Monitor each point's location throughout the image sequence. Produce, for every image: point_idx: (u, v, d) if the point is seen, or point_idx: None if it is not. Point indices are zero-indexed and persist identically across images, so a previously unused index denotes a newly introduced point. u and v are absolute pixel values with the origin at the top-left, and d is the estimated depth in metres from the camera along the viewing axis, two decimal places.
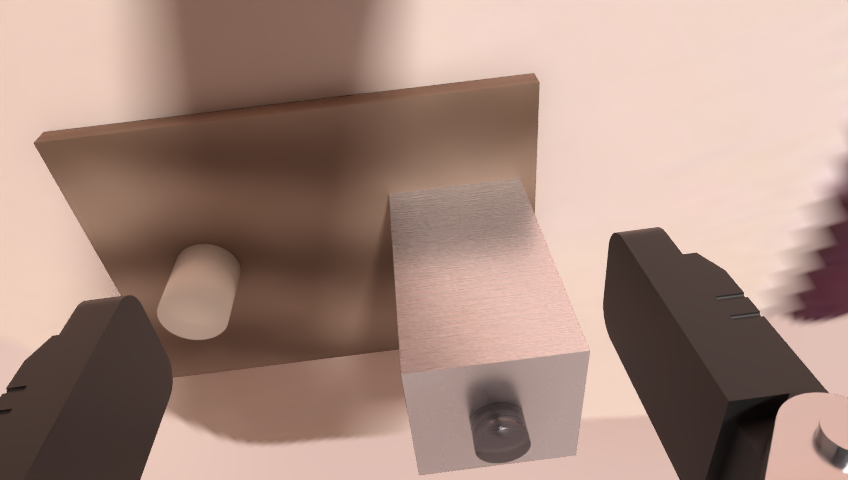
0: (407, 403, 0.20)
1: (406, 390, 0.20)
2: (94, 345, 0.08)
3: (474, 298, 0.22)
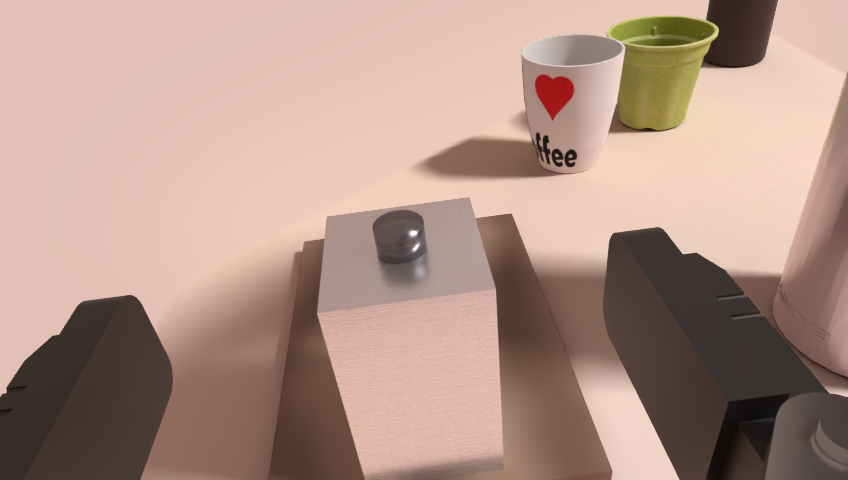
0: (433, 202, 0.26)
1: (449, 201, 0.26)
2: (94, 345, 0.08)
3: None
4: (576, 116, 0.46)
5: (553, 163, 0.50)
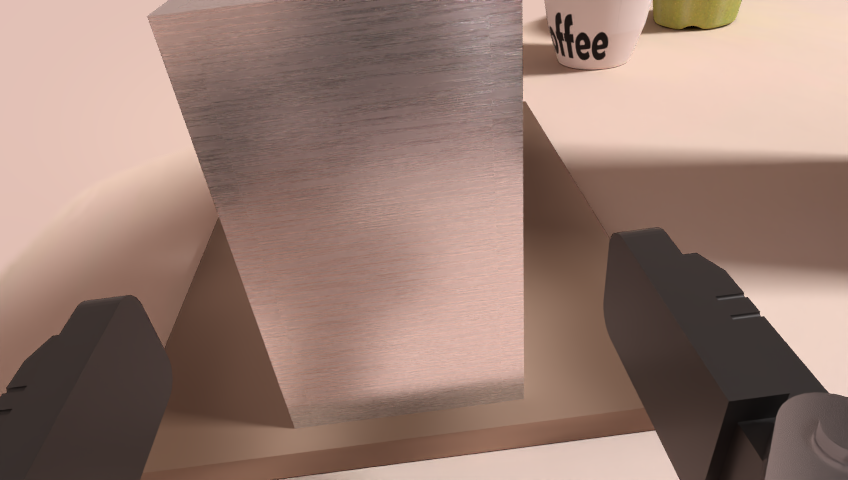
0: None
1: None
2: (94, 345, 0.08)
3: None
4: None
5: (577, 55, 0.39)
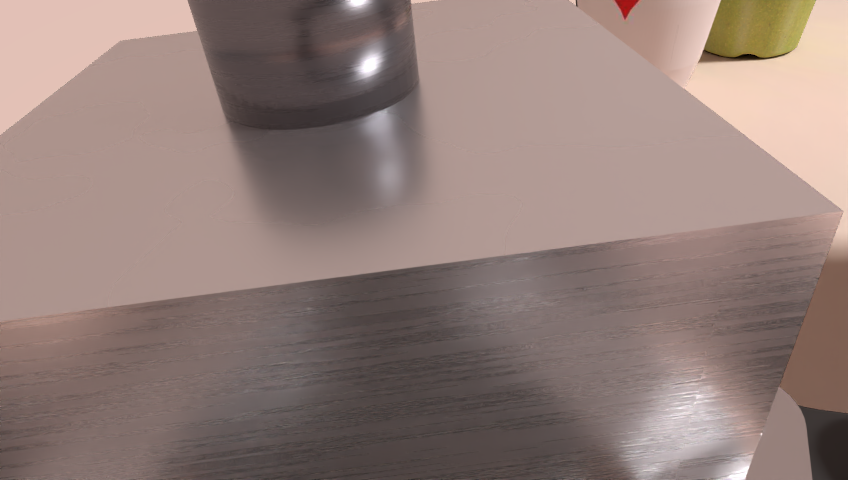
0: (442, 0, 0.09)
1: None
2: None
3: None
4: (665, 9, 0.29)
5: None
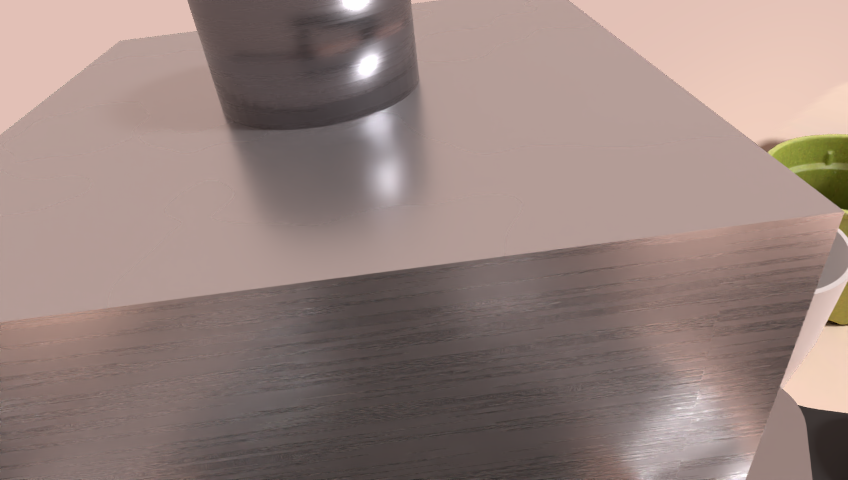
0: (442, 0, 0.09)
1: None
2: None
3: None
4: None
5: None
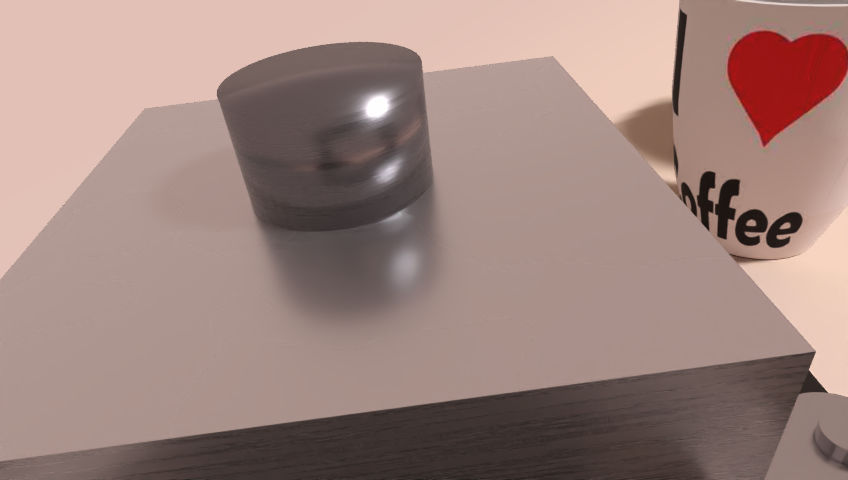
0: (450, 70, 0.09)
1: (497, 65, 0.09)
2: None
3: None
4: (833, 136, 0.18)
5: (735, 238, 0.23)
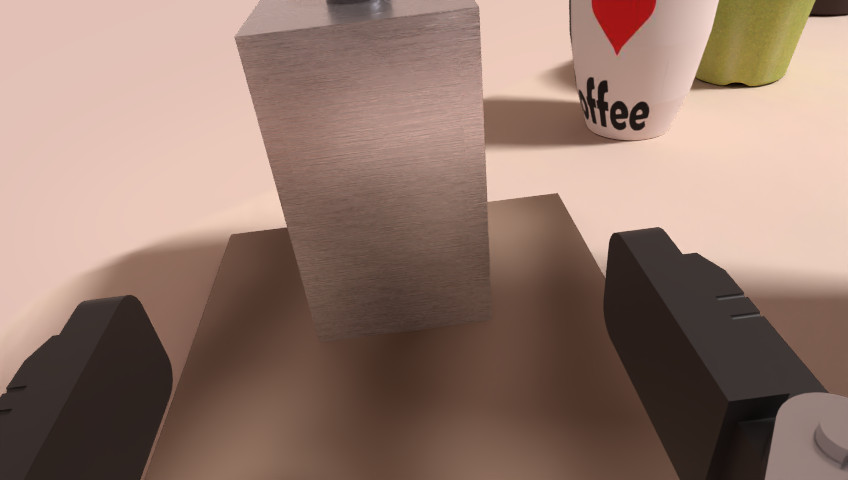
0: None
1: None
2: (94, 345, 0.08)
3: None
4: (655, 46, 0.30)
5: (611, 125, 0.34)
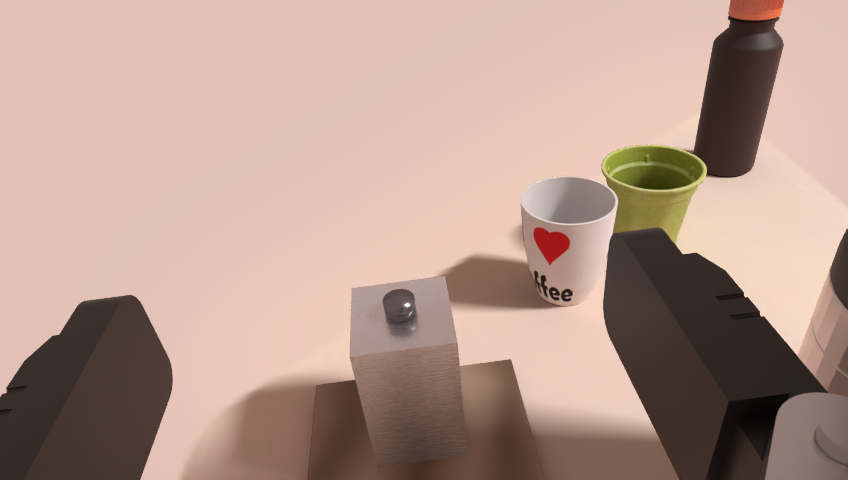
0: (421, 279, 0.39)
1: (432, 278, 0.39)
2: (94, 345, 0.08)
3: None
4: (572, 263, 0.49)
5: (550, 297, 0.53)
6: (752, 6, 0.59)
